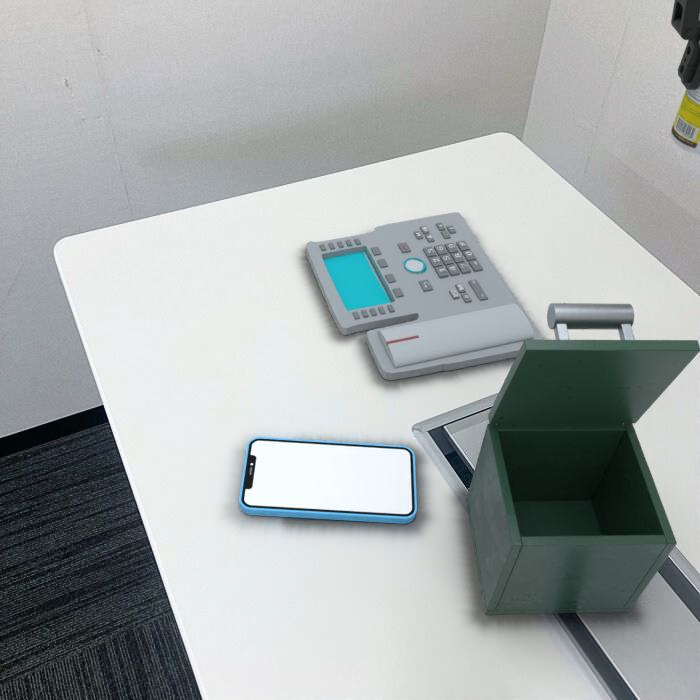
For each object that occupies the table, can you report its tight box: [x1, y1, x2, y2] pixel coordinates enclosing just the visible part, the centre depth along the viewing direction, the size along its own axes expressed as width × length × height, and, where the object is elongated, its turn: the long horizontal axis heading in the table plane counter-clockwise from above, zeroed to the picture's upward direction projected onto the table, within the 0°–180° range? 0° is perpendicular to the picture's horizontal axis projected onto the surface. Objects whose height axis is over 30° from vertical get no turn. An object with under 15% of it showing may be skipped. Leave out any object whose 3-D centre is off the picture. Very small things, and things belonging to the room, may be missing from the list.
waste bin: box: [465, 423, 678, 615], centre depth 58 cm, size 10×11×11 cm
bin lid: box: [487, 302, 700, 424], centre depth 54 cm, size 11×11×5 cm
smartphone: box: [238, 436, 418, 524], centre depth 66 cm, size 8×1×15 cm
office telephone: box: [305, 211, 545, 381], centre depth 83 cm, size 23×3×20 cm
